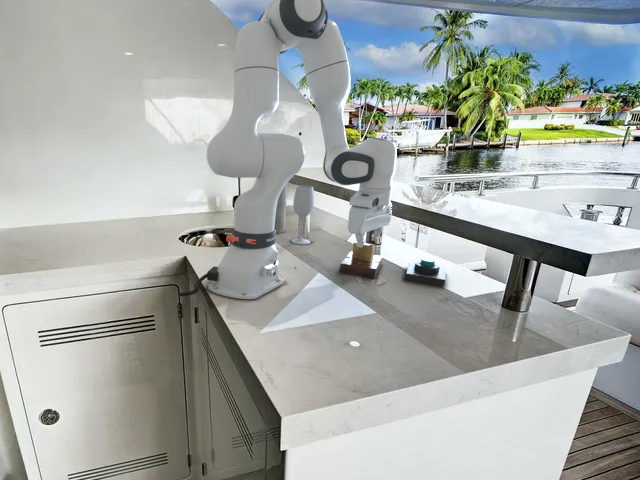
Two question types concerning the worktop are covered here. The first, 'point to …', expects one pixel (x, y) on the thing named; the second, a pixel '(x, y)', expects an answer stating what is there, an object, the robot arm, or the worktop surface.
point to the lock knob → (363, 252)
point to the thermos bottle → (281, 211)
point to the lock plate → (360, 266)
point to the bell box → (426, 274)
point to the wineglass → (303, 207)
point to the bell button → (427, 262)
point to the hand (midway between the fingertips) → (367, 243)
